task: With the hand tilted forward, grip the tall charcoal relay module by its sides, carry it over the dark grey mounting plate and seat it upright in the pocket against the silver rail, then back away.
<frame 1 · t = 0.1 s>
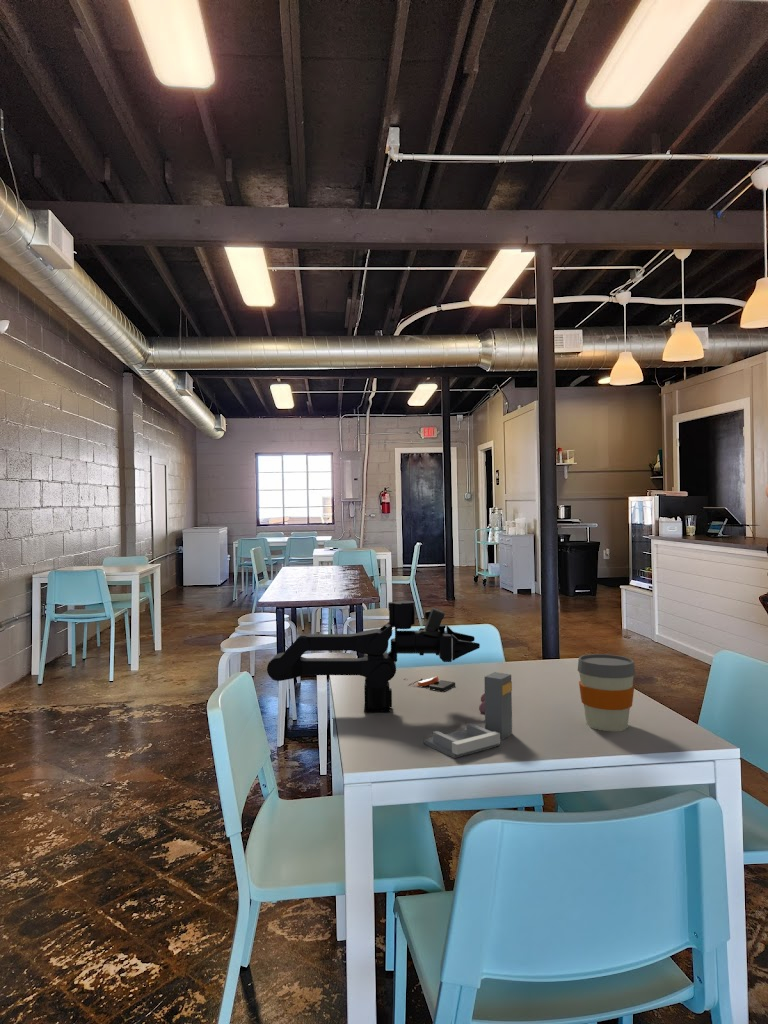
hand: (476, 642, 157), 17 cm above the table, tool horizontal, fingers open, 9 cm apart
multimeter: (419, 688, 179), on the table
video game controller: (491, 709, 157), on the table
module: (498, 734, 137), on the table
rail plate: (461, 744, 131), on the table
reusable coffee cup: (606, 725, 143), on the table
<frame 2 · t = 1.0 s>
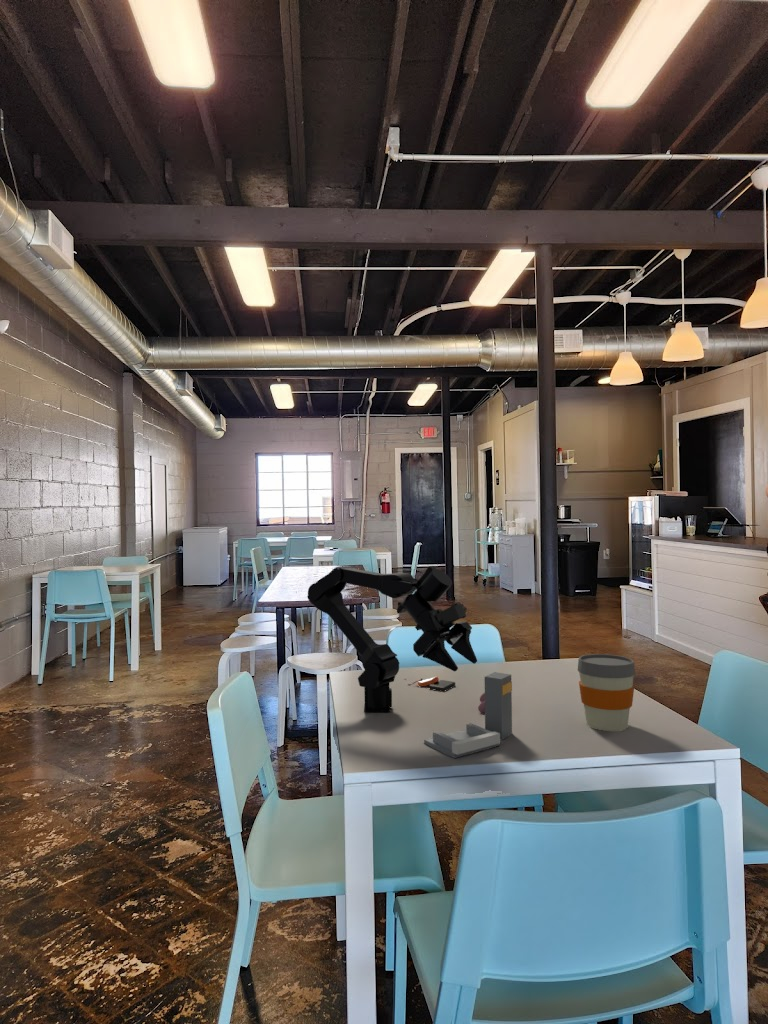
hand: (466, 666, 143), 14 cm above the table, tool tilted 45°, fingers open, 9 cm apart
nothing on the table moved.
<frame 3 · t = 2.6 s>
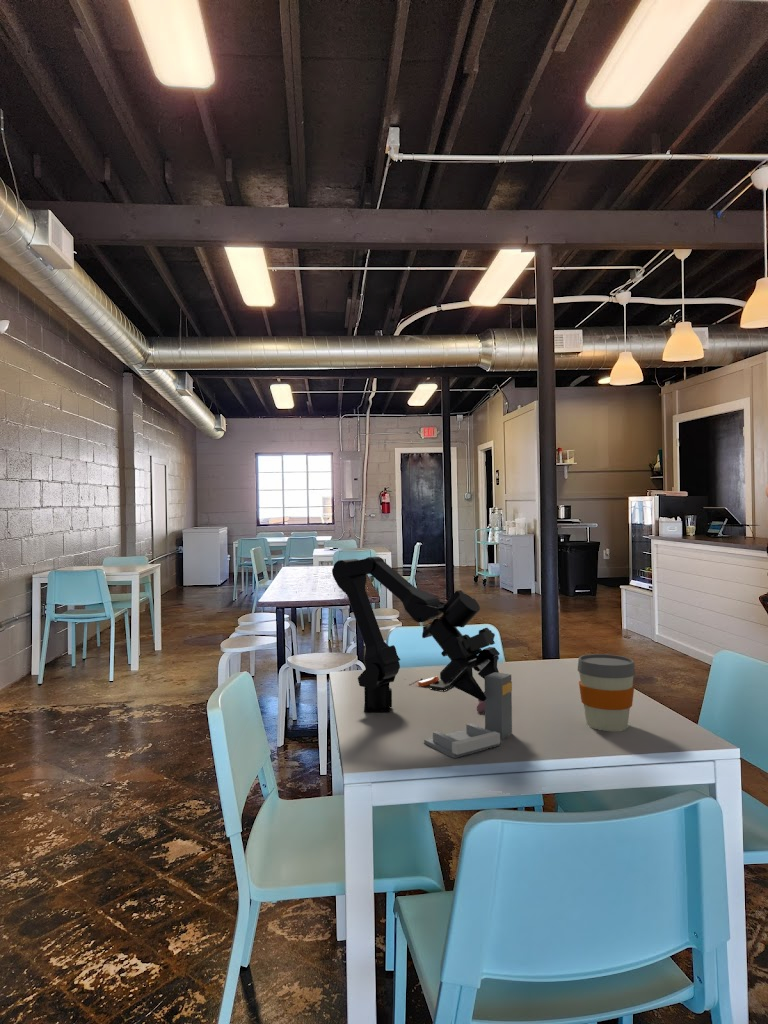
hand: (494, 695, 138), 9 cm above the table, tool tilted 45°, fingers open, 9 cm apart
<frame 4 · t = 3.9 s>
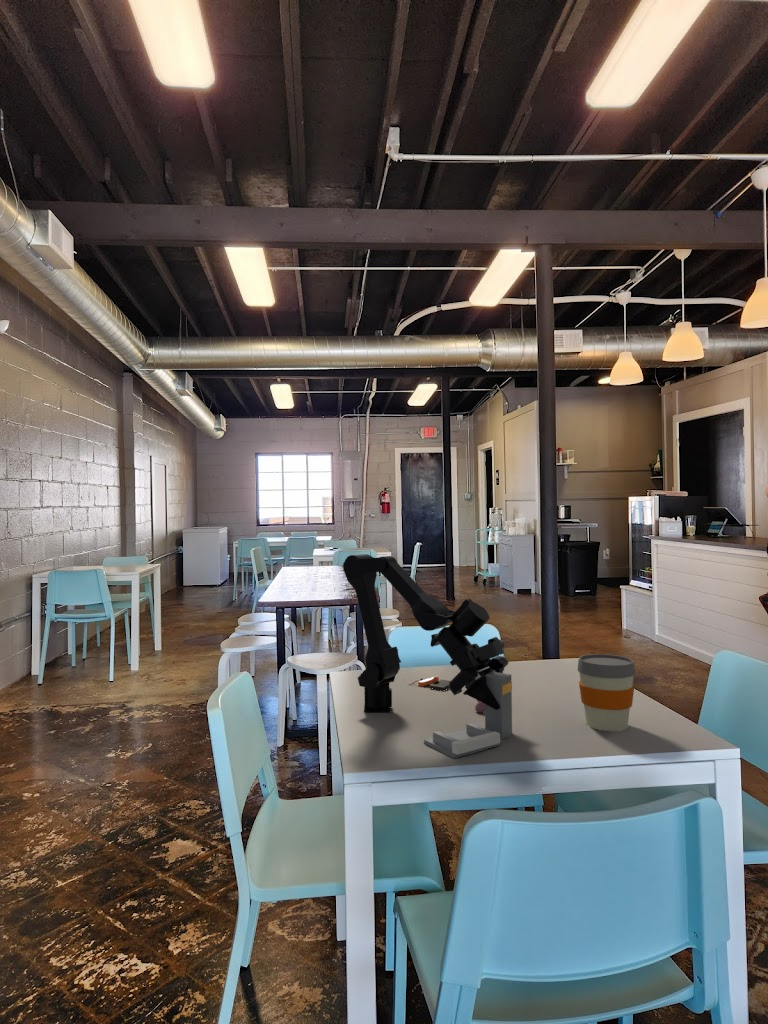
hand: (504, 705, 137), 7 cm above the table, tool tilted 45°, fingers closed on module, 5 cm apart
module: (498, 734, 137), on the table, touching gripper
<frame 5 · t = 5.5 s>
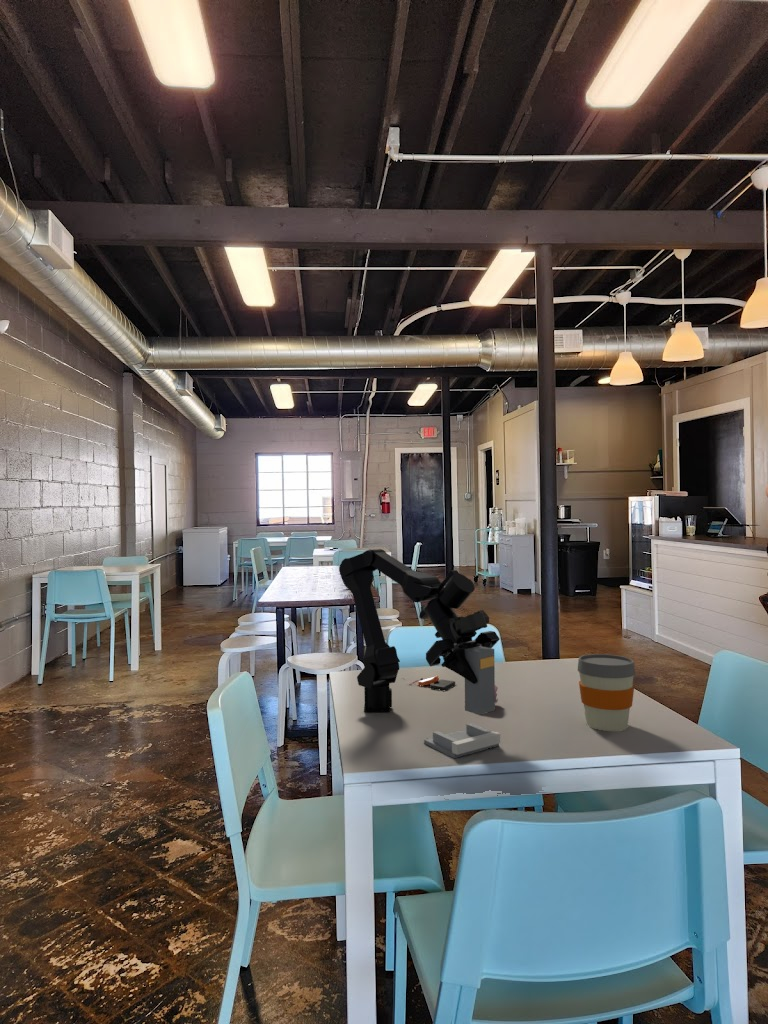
hand: (484, 680, 132), 13 cm above the table, tool tilted 45°, fingers closed on module, 5 cm apart
module: (479, 710, 133), point 7 cm above the table, touching gripper
when the fingers open (9 cm above the table, at t = 7.2 s): module drops 1 cm, resting on rail plate.
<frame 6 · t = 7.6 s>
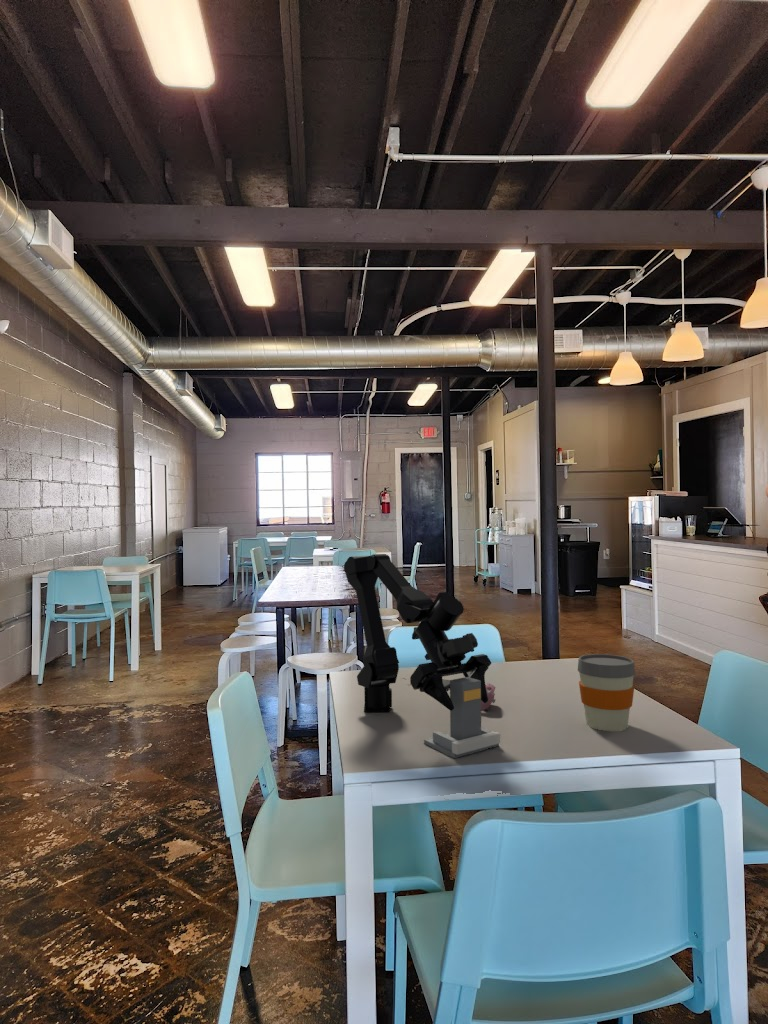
hand: (469, 705, 129), 9 cm above the table, tool tilted 45°, fingers open, 9 cm apart
module: (465, 743, 130), point 1 cm above the table, touching rail plate
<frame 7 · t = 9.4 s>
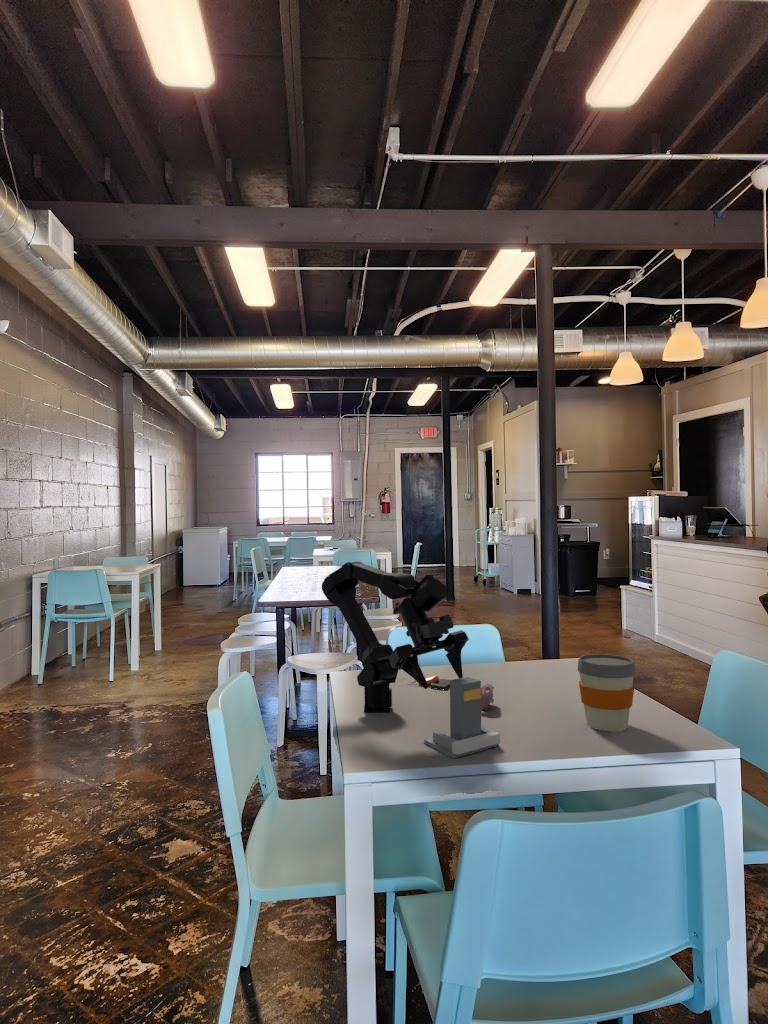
hand: (444, 683, 139), 11 cm above the table, tool tilted 35°, fingers open, 9 cm apart
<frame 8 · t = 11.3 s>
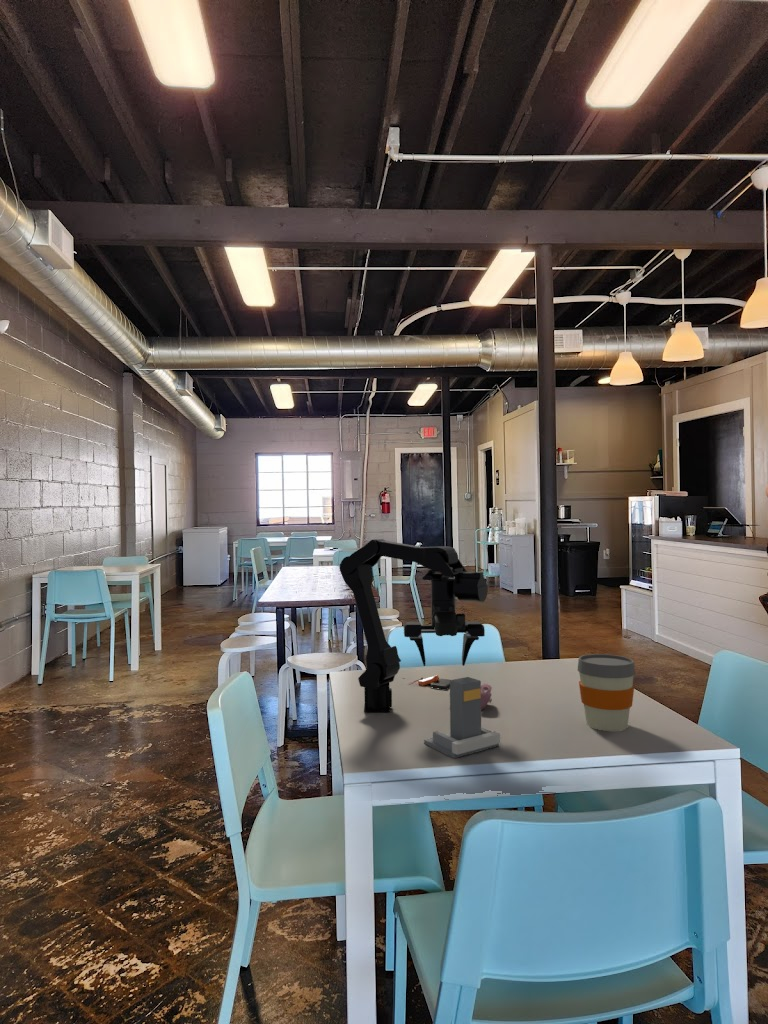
hand: (443, 665, 148), 13 cm above the table, tool pointing down, fingers open, 9 cm apart
at the end: module 0.1 cm from the target spot on the rail plate, point 0.8 cm above the rail plate's base; module tilted 0°; the gripper is holding nothing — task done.
